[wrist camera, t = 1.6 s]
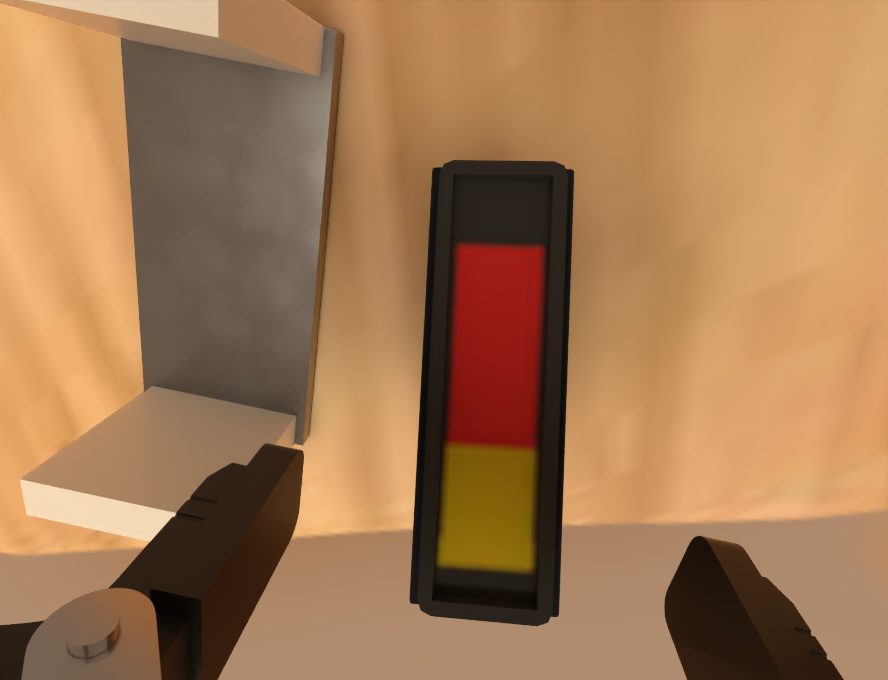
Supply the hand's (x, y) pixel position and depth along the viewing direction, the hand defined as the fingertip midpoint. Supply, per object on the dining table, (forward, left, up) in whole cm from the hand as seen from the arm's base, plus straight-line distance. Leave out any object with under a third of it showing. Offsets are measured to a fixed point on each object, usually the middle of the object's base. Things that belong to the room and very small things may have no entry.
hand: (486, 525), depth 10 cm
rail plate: (0, -13, -15) cm, 20 cm away
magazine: (0, 0, -15) cm, 15 cm away
